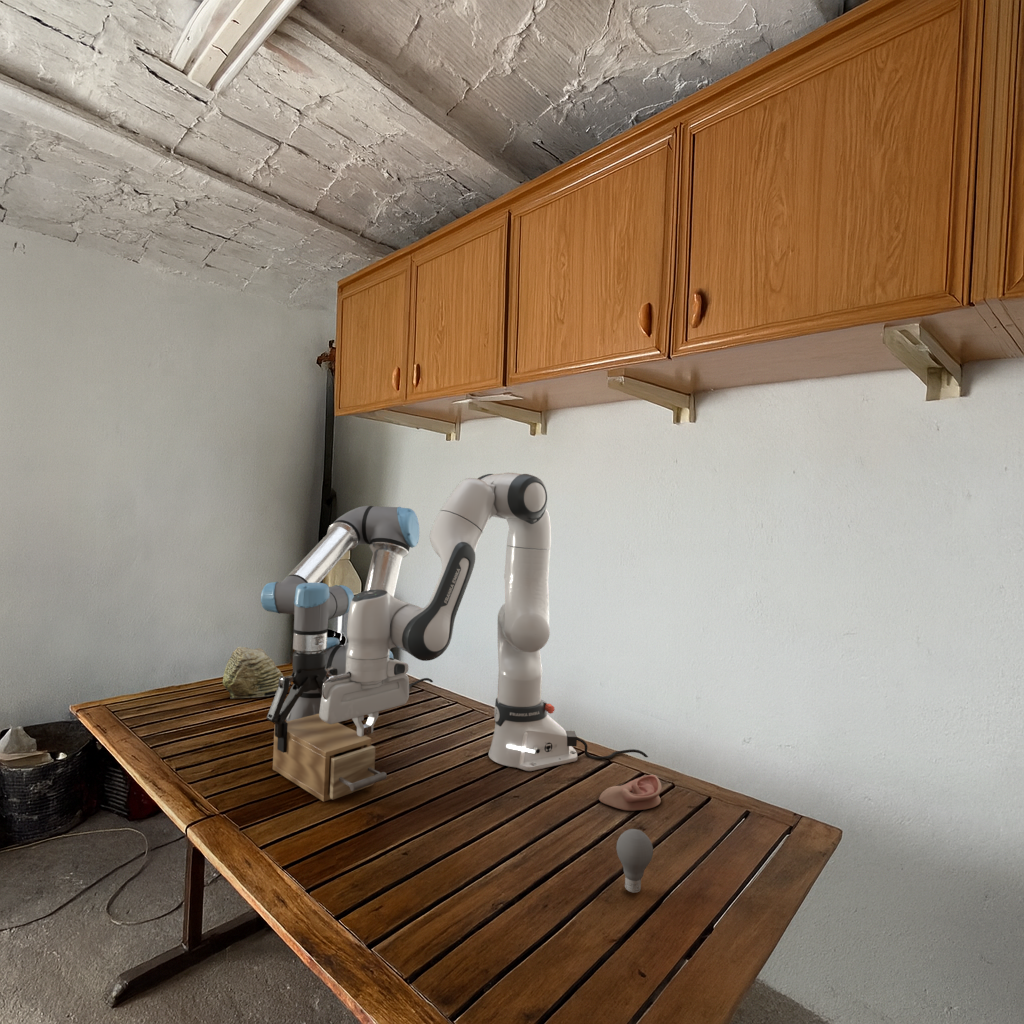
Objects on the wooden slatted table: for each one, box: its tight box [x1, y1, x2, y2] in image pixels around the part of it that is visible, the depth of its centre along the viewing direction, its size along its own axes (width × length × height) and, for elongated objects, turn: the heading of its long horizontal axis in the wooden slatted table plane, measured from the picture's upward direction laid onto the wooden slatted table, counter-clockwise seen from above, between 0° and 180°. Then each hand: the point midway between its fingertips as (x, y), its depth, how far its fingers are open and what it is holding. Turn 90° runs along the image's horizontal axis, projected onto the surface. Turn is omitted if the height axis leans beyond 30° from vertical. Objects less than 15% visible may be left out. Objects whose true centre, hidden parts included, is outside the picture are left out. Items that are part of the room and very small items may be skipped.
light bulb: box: [615, 828, 654, 894], centre depth 106 cm, size 6×6×10 cm
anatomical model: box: [598, 774, 663, 812], centre depth 139 cm, size 13×4×12 cm
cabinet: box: [272, 714, 372, 803], centre depth 143 cm, size 21×12×10 cm, turn 49°
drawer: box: [328, 745, 388, 800], centre depth 139 cm, size 26×10×8 cm, turn 48°
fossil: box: [222, 646, 284, 699], centre depth 198 cm, size 9×18×15 cm, turn 132°
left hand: (306, 743), depth 147 cm, fingers closed on cabinet, 11 cm apart
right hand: (364, 734), depth 132 cm, fingers closed
